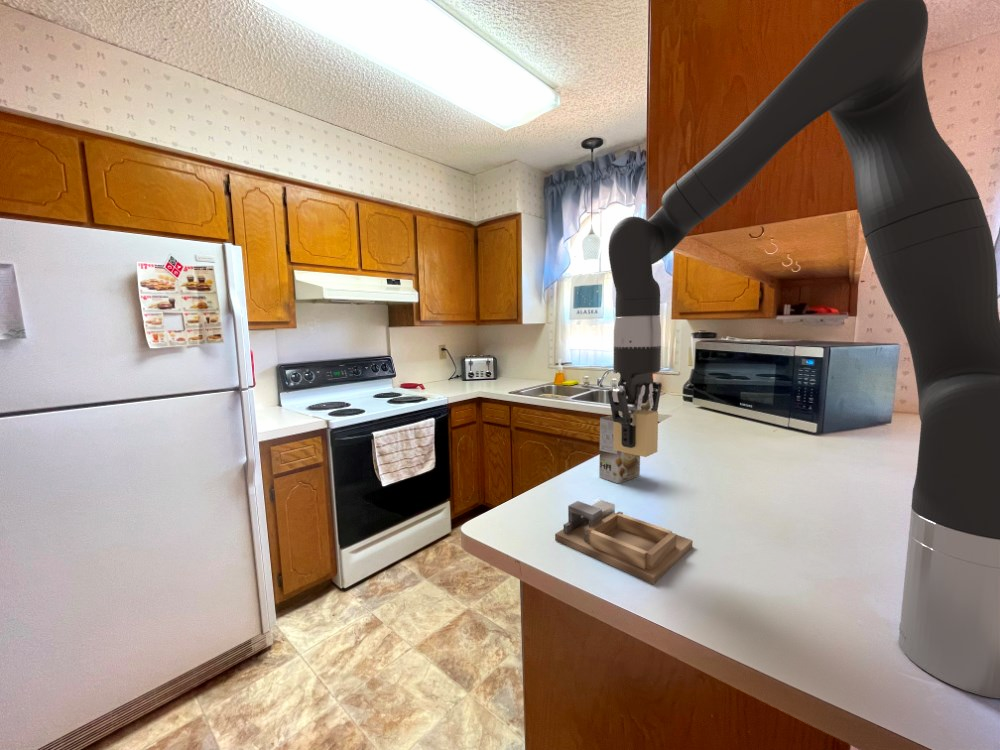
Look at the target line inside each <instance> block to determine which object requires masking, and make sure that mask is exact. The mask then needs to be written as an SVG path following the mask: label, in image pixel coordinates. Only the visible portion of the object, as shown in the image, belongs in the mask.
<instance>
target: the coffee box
mask: <svg viewBox="0 0 1000 750" xmlns="http://www.w3.org/2000/svg"><path fill="white" fill-rule="evenodd" d="M613 443H614V421H613V416H612V414H611V415H607V416H601V417H599V469H598V471H599V475H598V476H599V478H601V479H604V480H607V481H609V482H612V483H615V484H620V483H623V482H627V481H629V480H632V479H635V478H637V477H640V473H641V456H638V455H634V454H629V453H625V452H621V451H616V450H613Z"/></svg>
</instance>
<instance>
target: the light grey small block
mask: <svg viewBox="0 0 1000 750" xmlns="http://www.w3.org/2000/svg"><path fill="white" fill-rule="evenodd" d="M591 506H594V507H597V508H599V509H602V520H603V519H604V518H606V517H607V516H609V515H611V514H612V513H616V512H615V510H616V508H615V507H616V504H615V503H612V502H608V501H605V500H602V499H601V500H599V501H597V502H596V503H594V504H592V505H591ZM587 523H589V518H587Z"/></svg>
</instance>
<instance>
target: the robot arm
mask: <svg viewBox="0 0 1000 750" xmlns="http://www.w3.org/2000/svg"><path fill="white" fill-rule="evenodd" d="M928 28H929V12H928V8H927V4H926V2H925V1H924V0H864V1H862V2H860V3H858V4H857V5H856V6H854V7H853V8H851V9H850V10H849V11H848V12H847V13H845V14H844V15H843V16H842V17H841V18H840V19H839V20H838V21H836V23H835V24H834V25H833V26H832V27H831V28H830V29H829V30H828V31H827V32H826V33H825V34H824V35H823V36H822V38H821V39H820V40H819V41H818V42H817V43H816V44H815V45H814V46H813V47H812V48H811V50H809V52H808V53H807V54H806V55H805V56H804V57H803V59H801V60H800V62H799V63H798V64H796V66H795V67H794V68H793V69H792V71H790V72H789V74H788V75H787V76H786V77H785V78H784V79H783V80H782V81H781V82H780V83H779V84H778V85H777V86H776V87H775V89H774V90H772V91H771V92H770V93H769V94H768V96H766V98H765V99H764V100H763V101H762V102H761V103H760V104H759V105H758V106H757V107H756V108H755V109H754V110H753V111H752V112H751V113H750V114H749V115H748V116H747V117H746V118H745V119H744V121H742V122H741V123H740V124H739V125H738V126H737V127H736V128H735V129H734V130H733V131H732V132H731V133H730V134H729V135H728V136H727V137H726V138H725V139H724V140H722V142H721V143H719V144H718V145H717V146H716V147H715V148H714V149H713V150H711V151H710V152H709V153H708V154H707V155H706V156H705V157H704V158H702V159H701V160H700V161H699V162H698V163H697V164H696V165H694V166H693V167H692V168H691V169H689V170H688V171H687V172H686V173H685V174H684V175H683V176H681V177H680V178H679V179H678V180H677V181H676V182H674V183H673V184H672V185H671V186H670V187H669V188H668V189H667V190H666V191H665V192H664V194H663V195H662V197H661V204H662V205H661V206H660V207H659V208H658V209H657V210H656V212H655V213H654V214H653V215H652V216H651V217H649V219H645V218H642V217H639V216H629V217H624V218H623V219H622V220H620V221H619V222H617V223H616V225H615V226H614V228H613V230H612V232H611V234H610V237H609V241H608V260H609V264H610V271H611V275H612V276H611V277H612V280H613V285H614V289H615V311H614V312H615V313H614V314H615V316H614V317H615V320H614V321H615V322H614V328H613V371H614V372H615V373H618V374H619V381H618V384H617V385H618V386H617V387H616V388H614V389H613V388H609V389H608V390H607V391H608V392H607V396H608V400H609V404H610V410H611V415H612V416H613V421H614V422H617V423H620V424H621V426H622V439H621V441H622V445H623V446H624V447H629V448H633V447H635V443H636V426H635V424H636V414H637V413H639V412H640V410H641V409H644V410H651V411H658V410H659V409H658V408H659V403H660V399H661V398H660V397H661V391H662V386H663V385H662V382H657V381H654V377H653V375H654V374H658V373H659V372H660V371H661V364H662V363H661V358H662V357H661V356H662V355H661V354H662V326H661V287H660V285H659V283H658V282H657V280H656V279H655V278H654V275H653V274H654V273H653V265H654V264H656V263H658V262H659V261H660V260H662V259H664V258H665V257H666V256H667V255H669V254H670V253H671V252H672V251H673V250H674V249H675V248H676V247H677V246H678V245H679V244H680V242H682V241H683V240H684V239H685V238H686V237H687V235H689V233H690V232H691V231H692V229H694V228H695V227H697V226H698V225H699V224H701V223H702V222H703V221H705V220H706V219H707V218H709V217H710V216H711V215H713V214H714V213H716V212H717V211H718V210H719V209H721V208H722V207H723V206H725V205H726V204H727V203H728V202H729V201H731V200H732V199H734V198H735V197H736V196H737V195H738V194H739V193H740V192H741V191H743V190H744V188H746V187H747V185H749V183H750V182H752V180H753V179H754V178H756V176H757V175H759V174H760V172H761V171H762V170H763V168H765V166H767V165H768V163H769V162H770V161H771V160H772V158H774V156H776V155H777V154H778V153H779V151H781V150H782V149H783V148H784V147H785V145H787V144H788V143H789V142H790V141H791V140H792V139H793V138H794V137H796V136H797V135H798V134H800V132H802V131H803V130H804V129H805V128H806V127H808V126H809V125H810V124H812V123H813V122H814V121H815V120H817V119H818V118H819V117H821V116H822V115H824V114H826V113H827V112H829V114H830V117H831V118H832V120H833V122H834V123H835V126H836V128H837V130H838V132H839V134H840V136H841V139H842V141H843V143H844V145H845V147H846V149H847V152H848V155H849V157H850V162H851V165H852V169H853V176H854V179H853V180H854V187H855V188H854V189H855V197H856V204H857V209H858V214H859V215H858V216H859V220H860V225H861V229H862V230H861V231H862V233H863V237H864V241H865V244H866V247H867V250H868V253H869V257H870V261H871V262H872V267H873V269H874V272H875V274H876V277H877V279H878V281H879V284H880V286H881V289H882V291H883V293H884V295H885V297H886V300H887V301H888V304H889V306H890V308H891V310H892V311H893V314H894V316H895V317H896V320H897V321H898V323H899V325H900V326H901V329H902V331H903V332H904V335H905V338H906V340H907V344H908V347H909V350H910V354H911V360H912V366H913V369H914V375H915V383H916V389H917V390H916V391H917V398H918V399H917V400H918V414H919V421H920V433H919V443H918V444H919V445H918V454H917V466H916V472H915V473H916V474H915V479H914V484H913V487H912V493H911V494H912V496H911V504H910V505H911V509H910V519H909V530H908V539H907V540H908V542H907V552H906V559H905V560H906V561H905V569H904V573H905V574H904V581H903V590H902V591H903V592H902V601H901V612H900V621H899V629H898V630H899V633H898V634H899V635H898V645H899V648H900V649H901V650H902V652H903V654H904V655H905V656H906V657H907V658H908V659H909V660H910V661H912V663H914V664H915V665H917V666H918V667H920V668H921V669H923V671H925V672H927V673H928V674H930V675H931V676H933V677H935V678H937V679H939V680H941V681H942V682H945V683H947V684H949V685H951V686H953V687H956V688H958V689H960V690H963V691H965V692H968V693H969V692H970V693H972V694H975V695H978V696H983V697H987V698H992V699H993V698H994V699H1000V312H999V300H998V299H999V297H998V291H999V290H998V269H997V259H996V252H995V251H996V250H995V245H994V241H993V240H994V239H993V236H992V231H991V227H990V225H989V222H988V219H987V215H986V212H985V209H984V206H983V203H982V200H981V199H980V194H979V192H978V190H977V187H976V186H975V183H974V181H973V179H972V178H971V176H970V174H969V172H968V171H967V169H966V168H965V166H964V164H962V162H961V161H960V159H959V158H958V156H957V155H956V154H955V152H954V151H953V150H952V149H951V147H950V146H949V145H948V144H947V143H946V141H945V140H944V139H943V138H942V136H941V135H940V133H939V131H938V130H937V128H936V125H935V122H934V119H933V117H932V113H931V111H930V110H931V109H930V105H929V102H928V101H929V100H928V96H927V91H926V85H925V78H924V69H923V57H924V56H923V54H924V50H925V44H926V40H927V33H928V30H929V29H928ZM629 405H630V406H629ZM618 411H620V415H619V412H618ZM629 411H631V416H630V415H629Z"/></svg>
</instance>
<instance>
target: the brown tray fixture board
mask: <svg viewBox="0 0 1000 750" xmlns="http://www.w3.org/2000/svg"><path fill="white" fill-rule="evenodd" d="M567 508H568V509H567V511H568V512H567V513H568V514H567V515H568V519H567V520H568V521H567V522H566V523H564V524H562V525H563V528H562V529H561V530H559V531H557V532H556V533H554V538H555V539H554V540H555V541H557V542H559V543H561V544H563V545H565V546H568V547H570V548H572V549H575V550H576V551H578V552H581V553H583V554H585V555H587V556H590V557H592V558H594V559H596V560H599V561H601V562H603V563H605V564H608V565H610V566H611V567H614V568H616V569H618V570H621V571H622V572H624V573H627V574H629V575H632V576H634V577H635V578H636V577H637V578H638V579H640V580H642V581H645V582H647V583H648V584H651V585H655V584H656V582H658V581H659V580H660V579H661V578H662V577H663V576H664V575H665V574H666V573H667V572H668V571H669V570H670V569H671V568H672V567H673V566H674V565H675V564H676V563H677V562H678V561H679V560H680V559H682V558H683V557H684V555H686V554H687V553H688V552H689V551H690V550H691V549H692V548H693V545H694V544H693V542H694V541H693V540H692V539H689V538H686V537H684V536H682V535H678V534H677V533H674V532H673V531H672V530H670V529H666V528H664V527H662V526H658V525H656V524H652V523H650V522H646V521H643V520H640V519H638V518H635V517H631V516H629V515H627V514H623V513H624V512H622V511H618V512H615V513H612V514H611V515H609V516H607V517H606V518H604V519H603V520H602V509H599V508H597V507H594V506H592V505H591V504H587V503H584V502H582V501H579V500H577V501H575V502H573V503H571V504H569V505H568V507H567ZM587 518H589V523H587Z"/></svg>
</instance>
